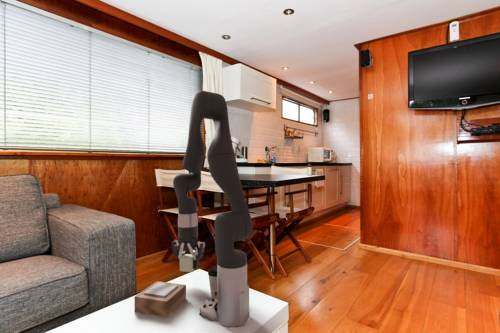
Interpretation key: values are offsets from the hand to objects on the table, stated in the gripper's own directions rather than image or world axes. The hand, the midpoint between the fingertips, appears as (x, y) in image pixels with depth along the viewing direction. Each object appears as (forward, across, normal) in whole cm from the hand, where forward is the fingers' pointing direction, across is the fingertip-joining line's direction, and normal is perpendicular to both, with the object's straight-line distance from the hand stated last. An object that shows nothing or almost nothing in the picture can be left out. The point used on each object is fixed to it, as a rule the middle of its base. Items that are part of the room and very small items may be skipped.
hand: (188, 267), depth 106 cm
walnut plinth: (+8, +2, +15) cm, 17 cm away
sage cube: (0, 0, 0) cm, 0 cm away
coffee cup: (+8, -14, +4) cm, 16 cm away
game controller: (+8, -16, +14) cm, 22 cm away
